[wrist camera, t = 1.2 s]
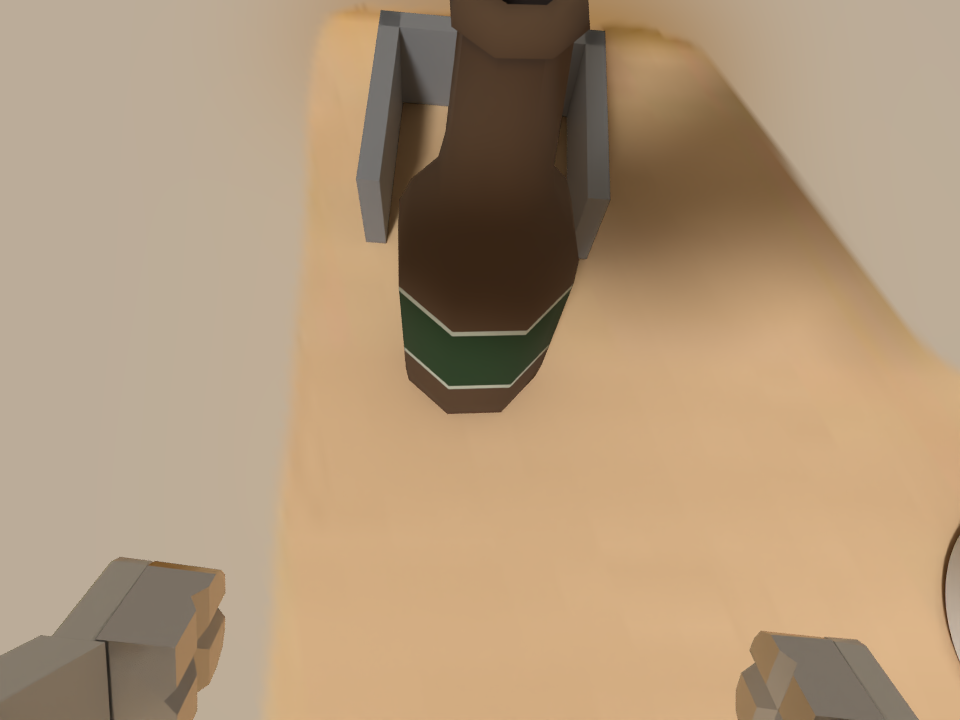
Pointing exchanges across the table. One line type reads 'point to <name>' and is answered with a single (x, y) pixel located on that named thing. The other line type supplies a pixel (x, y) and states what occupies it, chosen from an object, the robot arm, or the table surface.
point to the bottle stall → (427, 80)
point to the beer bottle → (492, 210)
